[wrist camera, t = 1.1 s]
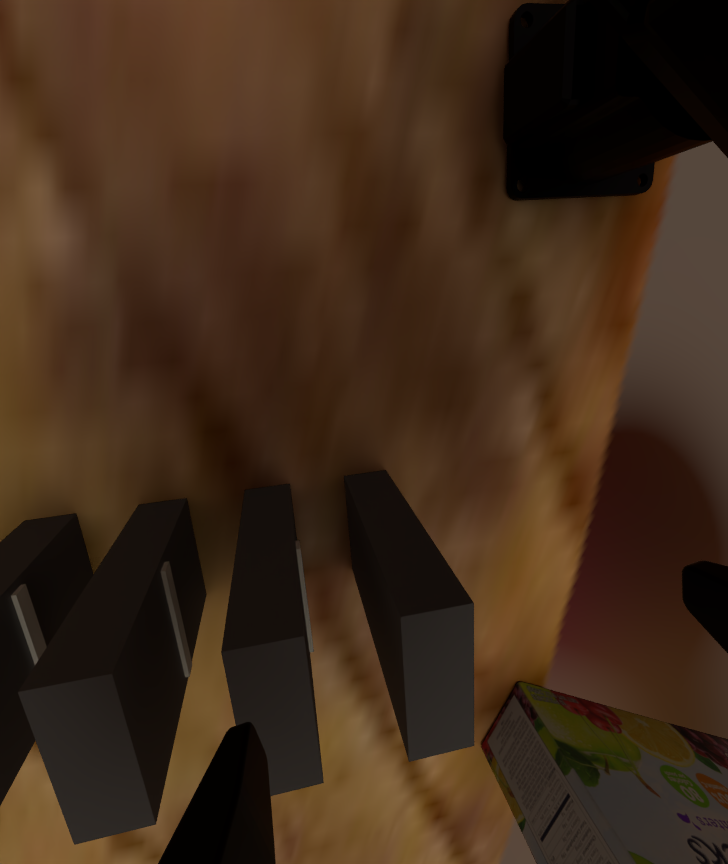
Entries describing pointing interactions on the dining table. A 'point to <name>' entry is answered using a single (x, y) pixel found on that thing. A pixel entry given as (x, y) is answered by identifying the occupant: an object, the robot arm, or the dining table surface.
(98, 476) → the dining table surface
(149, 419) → the dining table surface
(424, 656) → the domino
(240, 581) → the domino
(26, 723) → the domino
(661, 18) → the robot arm
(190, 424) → the dining table surface
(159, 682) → the domino
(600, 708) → the snack box
